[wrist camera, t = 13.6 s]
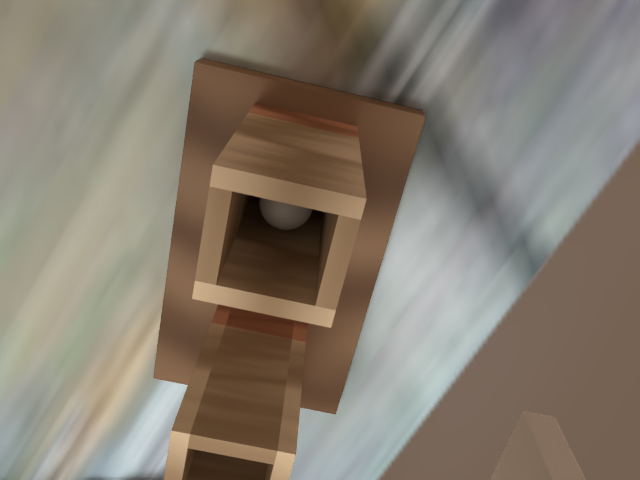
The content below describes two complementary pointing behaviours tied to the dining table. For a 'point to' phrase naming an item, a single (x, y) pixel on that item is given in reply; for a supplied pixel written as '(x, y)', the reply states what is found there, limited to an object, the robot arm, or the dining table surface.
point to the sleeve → (272, 243)
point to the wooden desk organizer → (256, 328)
